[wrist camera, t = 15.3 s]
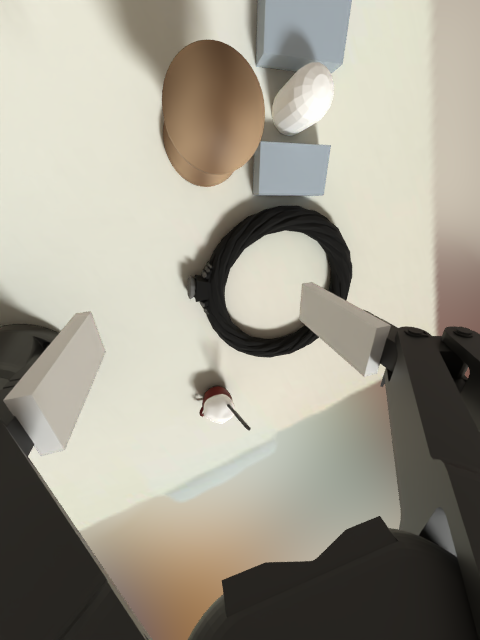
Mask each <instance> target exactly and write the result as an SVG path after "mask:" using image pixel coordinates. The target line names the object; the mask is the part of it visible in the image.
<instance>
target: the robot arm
mask: <svg viewBox="0 0 480 640" xmlns="http://www.w3.org/2000/svg"><path fill="white" fill-rule="evenodd" d="M299 320H300V321H301V322H303V323H304V324H305V325H306V326H307V327H308V328H309V329H311V330H312V331H313V332H314V333H315V334H316V335H317V336H318V337H320V338H321V339H322V340H323V341H324V342H325V343H326V344H328V345H329V346H330V347H331V348H332V349H333V350H334V351H335V352H337V353H338V354H339V355H340V356H341V357H342V358H343V359H345V360H346V361H347V362H348V363H349V364H350V365H351V366H352V367H354V368H355V369H356V370H357V371H358V372H359V373H360V374H362V375H363V376H364V377H365V376H369V375H373V374H377V372H378V368H379V365H380V364H382V365H383V366H384V367H386V369H385V373H384V376H383V379H382V382H381V386H382V387H383V385H384V384H385V386H386V394H387V402H388V410H389V419H390V427H391V435H392V443H393V451H394V459H395V467H396V475H397V484H398V492H399V500H400V507H401V521H400V527H399V530H398V529H391V528H388V527H387V526H386V524H385V523H384V521H383V520H382V519H381V517H380V516H378V517H376V518H374V519H371V520H369V521H366V522H364V523H361V524H359V525H356V526H354V527H352V528H349V529H347V530H345V531H344V532H343V533H342V534H341V535H340V536H339V537H338V538H337V539H336V540H335V541H334V542H333V543H332V544H331V545H330V546H329V547H328V548H327V549H326V550H325V551H324V552H323V553H322V554H321V555H320V556H319V557H318V558H317V559H315V560H313V561H305V562H273V563H272V562H269V563H263V564H261V565H258V566H256V567H254V568H251V569H249V570H246V571H244V572H242V573H239V574H236V575H234V576H232V577H229V578H227V579H224V580H222V586H223V592H224V594H223V595H222V596H221V597H220V598H218V599H217V600H216V601H215V602H214V603H213V604H212V605H211V607H210V608H209V609H208V610H207V611H206V612H205V613H204V615H203V616H202V618H201V619H200V620H199V622H198V623H197V625H196V626H195V628H194V629H193V631H192V633H191V635H190V637H189V638H188V640H480V334H478V333H477V332H475V331H472V330H470V329H468V328H464V327H447V328H445V330H444V332H443V335H442V336H431V335H430V334H429V333H428V332H426V331H424V330H421V329H419V328H414V327H400V328H397V327H395V326H394V325H392V324H390V323H388V322H386V321H384V320H382V319H380V318H379V317H377V316H374V315H373V314H371V313H370V312H368V311H365V310H362V309H360V308H358V307H357V306H355V305H353V304H351V303H349V302H347V301H346V300H344V299H342V298H340V297H338V296H336V295H335V294H333V293H331V292H329V291H327V290H325V289H324V288H322V287H320V286H318V285H316V284H314V283H313V282H311V283H303V284H302V291H301V303H300V314H299ZM105 352H106V351H105V349H104V346H103V343H102V340H101V338H100V335H99V332H98V329H97V327H96V324H95V321H94V318H93V315H92V313H91V312H83V313H76V314H75V315H74V316H73V317H72V319H71V320H70V321H69V322H68V323H67V325H66V326H65V327H64V328H63V329H62V330H61V332H60V333H57V332H55V331H53V330H50V329H47V328H44V327H40V326H35V325H28V324H13V325H6V326H2V327H0V640H152V638H151V637H150V636H149V634H148V633H147V631H146V630H145V628H144V627H143V626H142V624H141V623H140V621H139V620H138V619H137V617H136V615H135V614H134V612H133V611H132V610H131V608H130V607H129V605H128V604H127V602H126V601H125V600H124V598H123V596H122V595H121V593H120V592H119V590H118V589H117V587H116V586H115V584H114V583H113V581H112V580H111V579H110V577H109V575H108V574H107V573H106V571H105V570H104V568H103V567H102V565H101V564H100V562H99V561H98V559H97V558H96V556H95V555H94V553H93V552H92V550H91V549H90V547H89V546H88V545H87V543H86V541H85V540H84V539H83V537H82V536H81V534H80V533H79V531H78V530H77V528H76V527H75V525H74V524H73V522H72V521H71V519H70V518H69V516H68V515H67V513H66V512H65V510H64V509H63V507H62V506H61V505H60V503H59V502H58V500H57V499H56V497H55V496H54V494H53V493H52V491H51V490H50V488H49V487H48V485H47V484H46V482H45V481H44V479H43V478H42V476H41V475H40V473H39V472H38V471H37V469H36V468H35V466H34V465H33V463H32V462H31V460H30V459H29V458H28V455H29V453H30V451H31V450H32V448H33V446H34V447H35V448H36V450H37V451H38V453H39V454H40V456H43V455H47V454H51V453H55V452H59V451H63V450H65V448H66V446H67V443H68V441H69V439H70V436H71V434H72V431H73V429H74V427H75V424H76V422H77V419H78V417H79V415H80V412H81V410H82V407H83V405H84V403H85V400H86V398H87V396H88V393H89V391H90V388H91V386H92V384H93V381H94V379H95V376H96V374H97V372H98V369H99V367H100V364H101V362H102V360H103V357H104V355H105ZM468 367H469V369H470V375H469V378H467V377H466V376H465V375H464V374H465V372H466V371H467V368H468Z"/></svg>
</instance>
